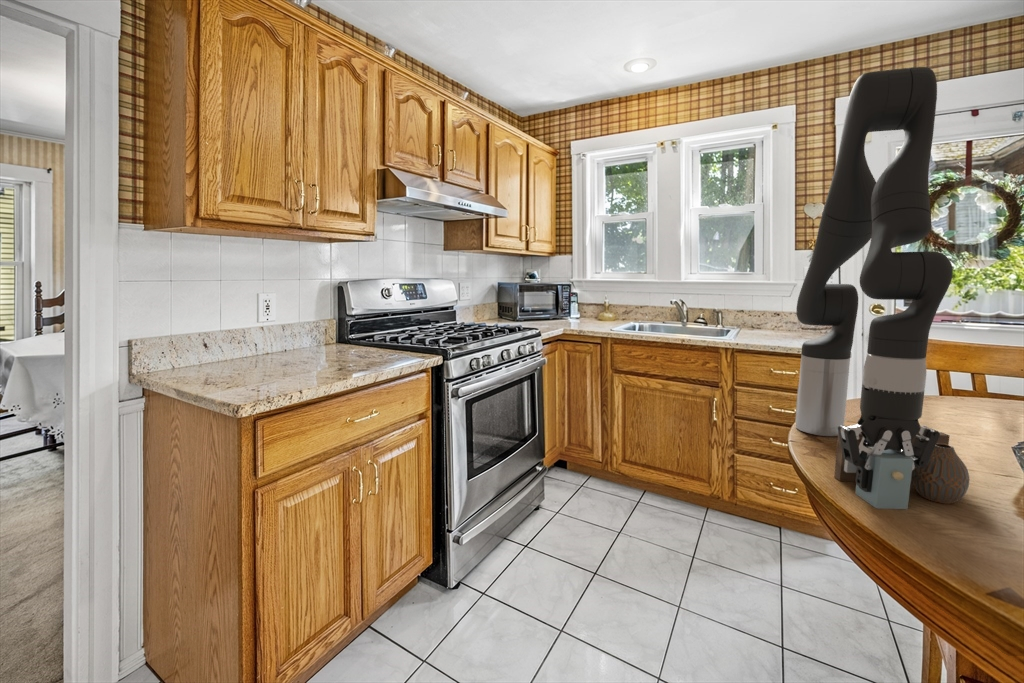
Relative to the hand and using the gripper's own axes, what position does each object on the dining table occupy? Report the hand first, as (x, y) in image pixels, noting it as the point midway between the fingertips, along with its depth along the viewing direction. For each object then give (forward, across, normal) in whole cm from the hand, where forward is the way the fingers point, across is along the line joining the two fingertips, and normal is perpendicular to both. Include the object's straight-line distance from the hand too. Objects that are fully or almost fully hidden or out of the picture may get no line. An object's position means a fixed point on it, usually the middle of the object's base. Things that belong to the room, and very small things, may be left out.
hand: (881, 489), depth 76 cm
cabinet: (+2, 0, -1) cm, 2 cm away
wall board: (+2, -6, -8) cm, 10 cm away
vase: (+2, -10, -2) cm, 10 cm away
